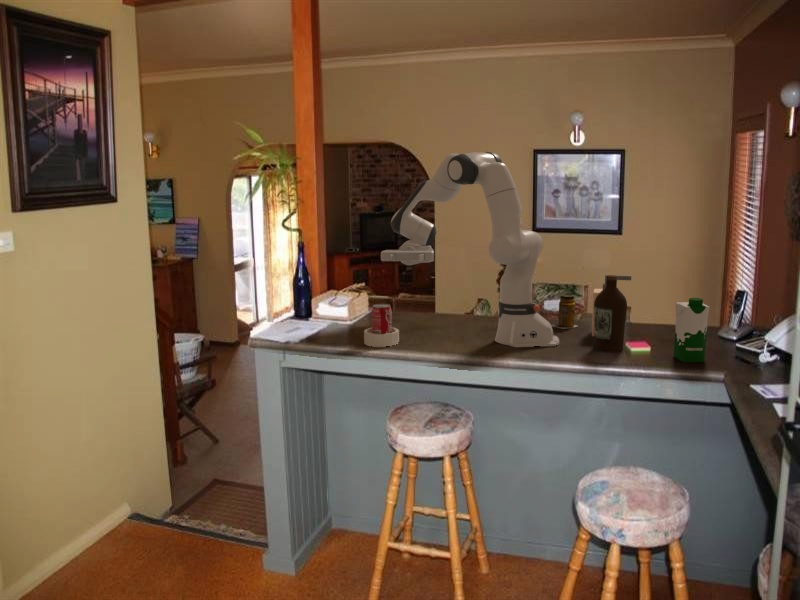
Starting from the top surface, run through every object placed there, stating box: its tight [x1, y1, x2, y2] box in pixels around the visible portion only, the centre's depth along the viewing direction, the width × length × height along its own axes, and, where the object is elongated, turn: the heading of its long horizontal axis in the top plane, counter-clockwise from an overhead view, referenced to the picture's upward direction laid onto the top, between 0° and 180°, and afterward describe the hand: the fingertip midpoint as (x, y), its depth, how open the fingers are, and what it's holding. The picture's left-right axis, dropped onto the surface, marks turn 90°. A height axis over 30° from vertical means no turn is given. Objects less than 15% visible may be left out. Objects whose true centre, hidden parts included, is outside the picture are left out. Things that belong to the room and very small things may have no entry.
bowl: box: [363, 326, 400, 348], centre depth 251 cm, size 12×12×4 cm
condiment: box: [551, 294, 578, 330], centre depth 273 cm, size 7×8×12 cm
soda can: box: [371, 303, 393, 334], centre depth 249 cm, size 7×7×13 cm
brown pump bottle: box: [593, 274, 628, 353], centre depth 238 cm, size 11×11×25 cm
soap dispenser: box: [591, 274, 632, 337], centre depth 257 cm, size 13×9×22 cm
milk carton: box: [673, 297, 711, 363], centre depth 224 cm, size 9×9×20 cm
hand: (405, 258), depth 262 cm, fingers open, 8 cm apart
